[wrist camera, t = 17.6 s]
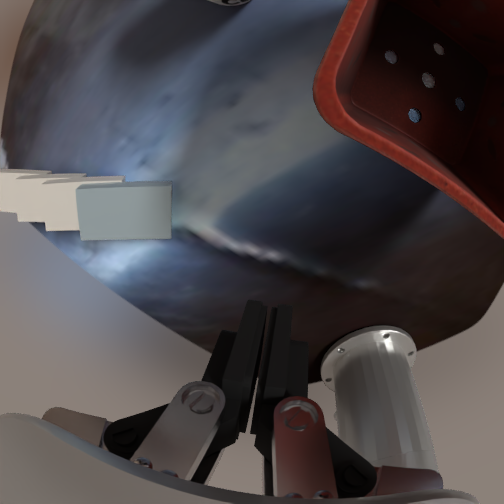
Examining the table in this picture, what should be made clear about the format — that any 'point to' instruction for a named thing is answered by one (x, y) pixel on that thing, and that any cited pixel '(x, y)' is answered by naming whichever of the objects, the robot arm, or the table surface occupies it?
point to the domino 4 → (124, 210)
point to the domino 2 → (33, 195)
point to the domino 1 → (12, 187)
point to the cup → (230, 2)
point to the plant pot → (424, 92)
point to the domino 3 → (66, 200)
